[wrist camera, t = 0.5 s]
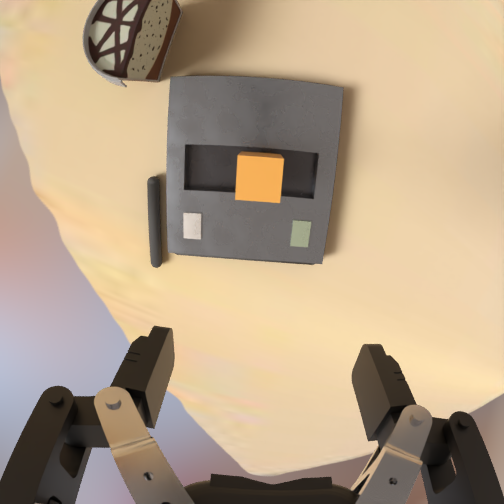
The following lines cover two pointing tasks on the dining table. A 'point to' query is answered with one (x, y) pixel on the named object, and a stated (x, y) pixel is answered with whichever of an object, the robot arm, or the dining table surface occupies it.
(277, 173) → the lever
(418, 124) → the dining table surface
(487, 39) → the dining table surface
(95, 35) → the food container
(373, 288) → the dining table surface
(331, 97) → the panel
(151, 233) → the grey rod
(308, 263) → the cord
